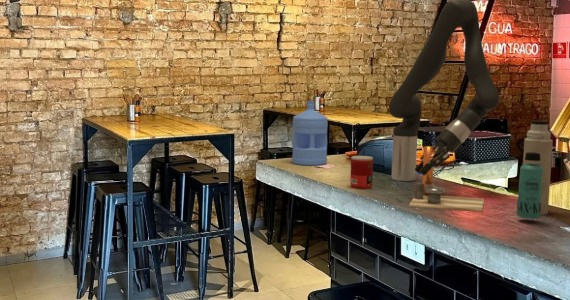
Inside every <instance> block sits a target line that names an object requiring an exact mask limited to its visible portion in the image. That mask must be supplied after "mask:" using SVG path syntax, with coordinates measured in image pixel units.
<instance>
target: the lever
mask: <svg viewBox="0 0 570 300" xmlns="http://www.w3.org/2000/svg"><path fill="white" fill-rule="evenodd" d="M433 153H434V147H433V146H430V145H425V146H423V154H424V157H423V166H424V165H425V164H426V163H427V162H428V161H429V160H430V159H431V155H432V154H433ZM427 164H428V163H427ZM422 184H424V194H426V195H428V193H431V194H441V195H442V194H444V193H445V188H444V187H441V186H437V185H435V184H434V168H431V169H430V170H429V171H428V172H427V173H426V174H425V175H422Z"/></svg>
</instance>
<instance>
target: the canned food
mask: <svg viewBox="0 0 570 300" xmlns="http://www.w3.org/2000/svg"><path fill="white" fill-rule="evenodd" d="M373 172H374V157H373V156H367V155H353V156H351V157H350V182H349V183H350V187H351V189H352V188H353V189H355V190H356V189H358V190H369V189H371V188H373V174H374V173H373Z"/></svg>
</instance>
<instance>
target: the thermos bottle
mask: <svg viewBox="0 0 570 300" xmlns="http://www.w3.org/2000/svg"><path fill="white" fill-rule="evenodd" d="M551 136H552V132H551V131H549V121H546V120H531V121H530V129H529V130H527V133H526V138H524V139H523V141H524V142H523V157H522V165H524V164H539V165H540V166H541V167H542V168H543V169H544V170H543V181H542V185H543V186H542V197H541V202H542V204H541V209H540V216H543V215H547V214H548V213H549V201H550V189H551V188H550V185H551V172H552V170H551V169H552V158H553V157H552V156H553V139H551ZM527 152H535V153H540V161H529V160H525V155H526V153H527Z"/></svg>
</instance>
